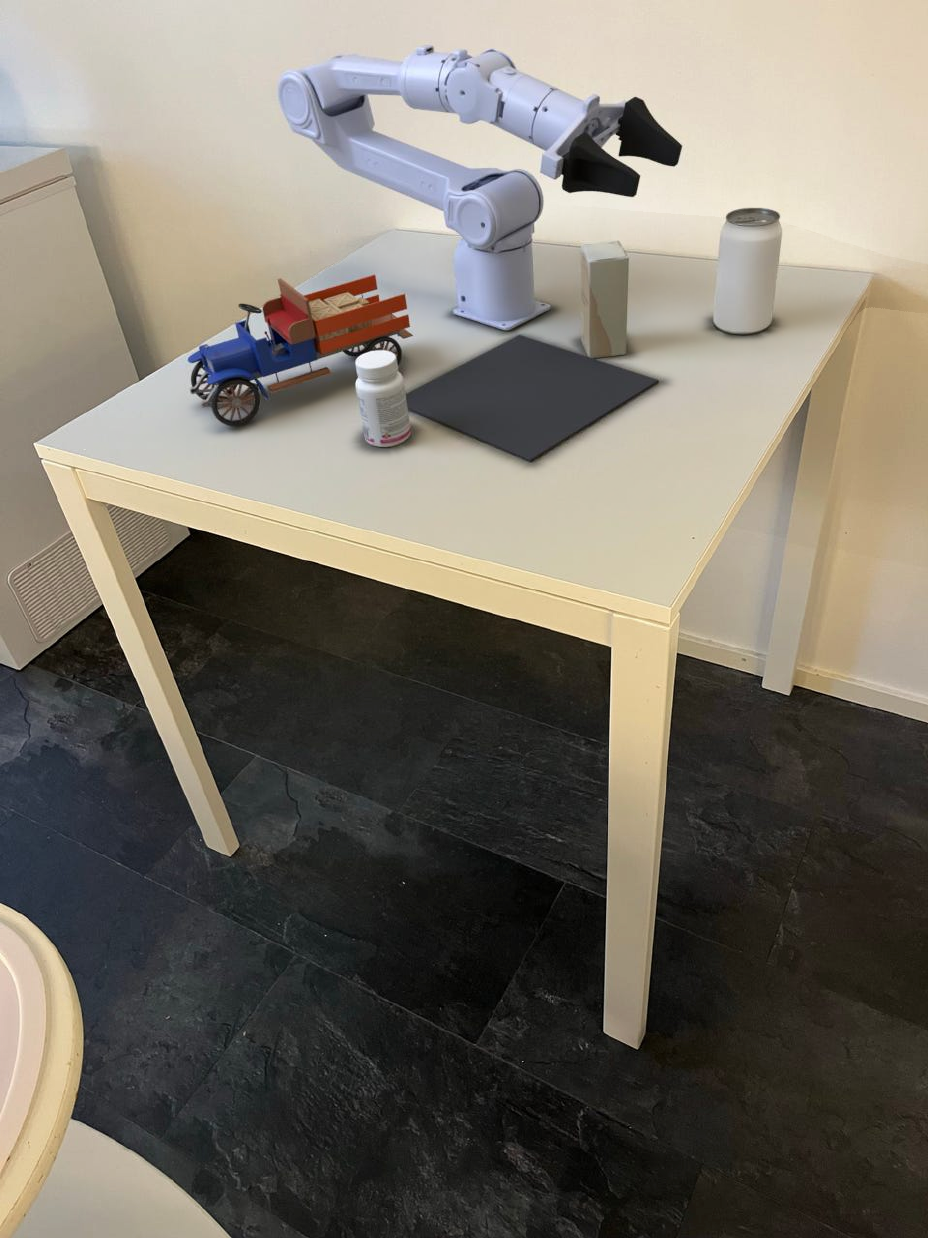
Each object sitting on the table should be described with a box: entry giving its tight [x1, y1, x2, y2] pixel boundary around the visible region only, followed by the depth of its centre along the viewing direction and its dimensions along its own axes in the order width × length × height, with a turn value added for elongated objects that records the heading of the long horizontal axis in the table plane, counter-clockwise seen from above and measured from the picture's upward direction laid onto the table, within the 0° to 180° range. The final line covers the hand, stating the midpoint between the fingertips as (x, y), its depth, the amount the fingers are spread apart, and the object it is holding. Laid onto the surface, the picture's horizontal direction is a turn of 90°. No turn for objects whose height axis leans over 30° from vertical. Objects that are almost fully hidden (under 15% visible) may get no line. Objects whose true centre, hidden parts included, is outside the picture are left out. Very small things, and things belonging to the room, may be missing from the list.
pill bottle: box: [354, 349, 412, 448], centre depth 95 cm, size 5×5×8 cm
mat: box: [406, 334, 660, 463], centre depth 102 cm, size 20×20×1 cm
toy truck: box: [187, 274, 414, 427], centre depth 104 cm, size 8×25×11 cm, turn 120°
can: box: [712, 207, 783, 335], centre depth 106 cm, size 6×6×12 cm
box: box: [580, 240, 630, 359], centre depth 105 cm, size 5×4×11 cm
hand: (657, 170), depth 96 cm, fingers open, 7 cm apart
